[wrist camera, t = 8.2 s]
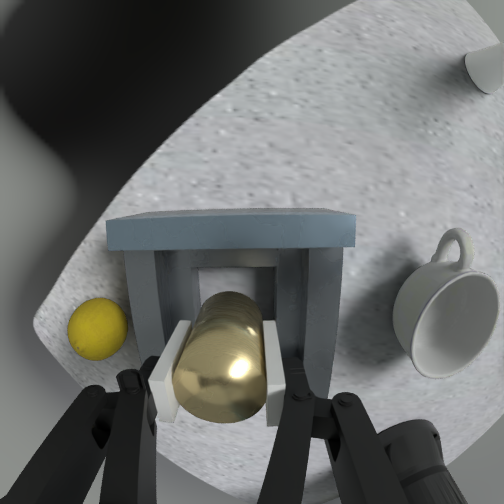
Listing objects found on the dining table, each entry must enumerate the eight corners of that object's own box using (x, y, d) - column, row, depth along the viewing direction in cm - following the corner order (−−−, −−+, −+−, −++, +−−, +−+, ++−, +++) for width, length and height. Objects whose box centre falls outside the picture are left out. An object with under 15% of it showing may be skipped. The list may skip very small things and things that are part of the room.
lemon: (85, 302, 27) (44, 333, 19) (117, 278, 27) (75, 306, 19) (115, 343, 28) (81, 382, 20) (148, 322, 27) (118, 363, 20)
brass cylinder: (262, 348, 21) (266, 423, 13) (201, 347, 21) (179, 420, 13) (262, 290, 20) (268, 352, 12) (196, 291, 20) (165, 350, 12)
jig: (315, 363, 28) (333, 415, 20) (165, 363, 28) (141, 412, 20) (324, 208, 25) (355, 215, 17) (148, 212, 25) (105, 220, 17)
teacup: (442, 341, 28) (478, 373, 20) (369, 346, 28) (398, 388, 20) (468, 228, 25) (516, 240, 17) (394, 216, 25) (441, 225, 17)
